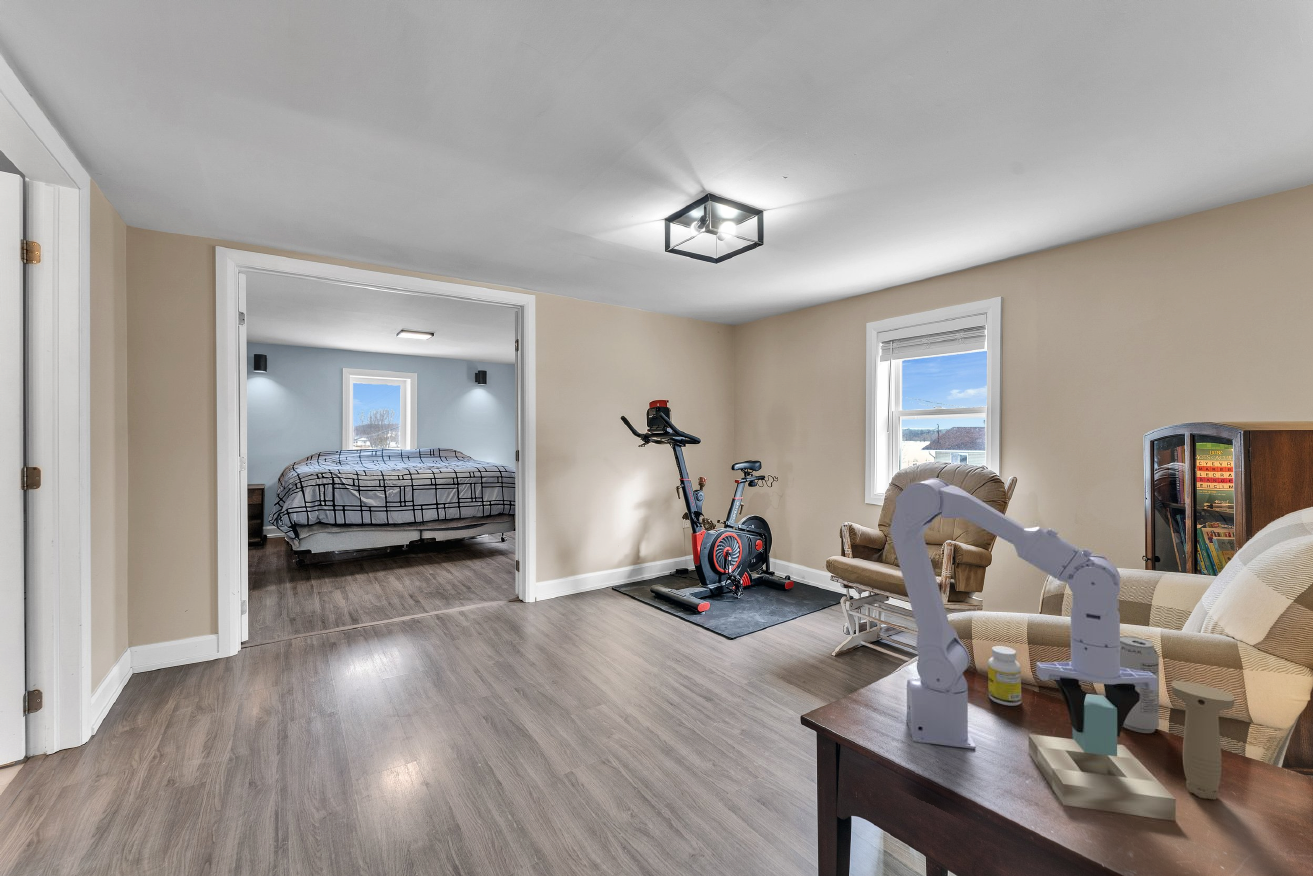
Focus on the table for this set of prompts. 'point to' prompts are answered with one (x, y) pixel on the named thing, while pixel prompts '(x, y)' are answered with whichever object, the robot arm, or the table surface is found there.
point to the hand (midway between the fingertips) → (1095, 731)
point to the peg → (1098, 726)
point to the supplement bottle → (1004, 676)
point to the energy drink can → (1146, 710)
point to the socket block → (1100, 779)
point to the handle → (1202, 735)
